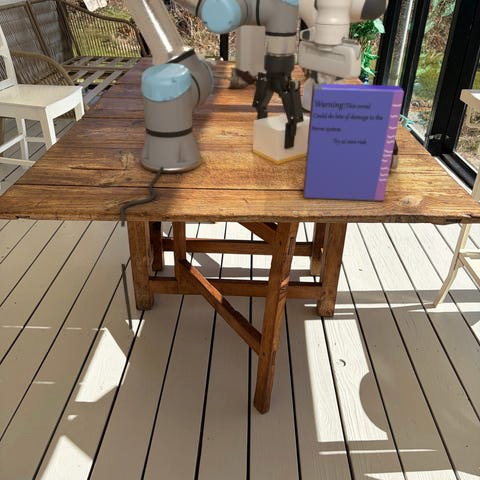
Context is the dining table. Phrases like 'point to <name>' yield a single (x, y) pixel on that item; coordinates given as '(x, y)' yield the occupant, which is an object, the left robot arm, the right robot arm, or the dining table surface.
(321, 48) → the right robot arm
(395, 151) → the figurine character
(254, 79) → the figurine
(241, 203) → the dining table surface
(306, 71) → the anatomical model
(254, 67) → the white block
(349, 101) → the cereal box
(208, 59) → the toy
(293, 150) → the cabinet
